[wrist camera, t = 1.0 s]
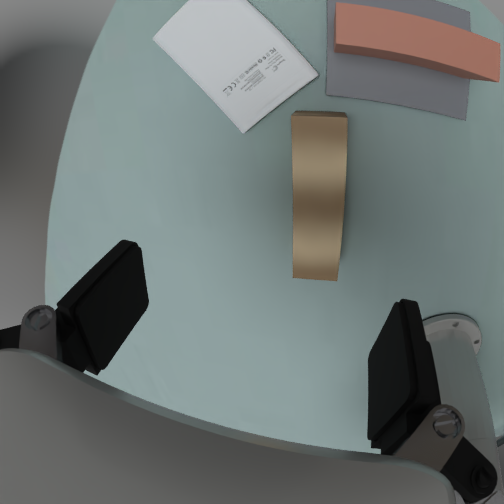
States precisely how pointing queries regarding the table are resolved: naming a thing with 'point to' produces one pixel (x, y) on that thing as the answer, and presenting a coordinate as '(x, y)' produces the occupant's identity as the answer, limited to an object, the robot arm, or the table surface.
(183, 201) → the table surface
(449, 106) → the fulcrum board
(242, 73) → the external hard drive
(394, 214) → the table surface
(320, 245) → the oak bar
